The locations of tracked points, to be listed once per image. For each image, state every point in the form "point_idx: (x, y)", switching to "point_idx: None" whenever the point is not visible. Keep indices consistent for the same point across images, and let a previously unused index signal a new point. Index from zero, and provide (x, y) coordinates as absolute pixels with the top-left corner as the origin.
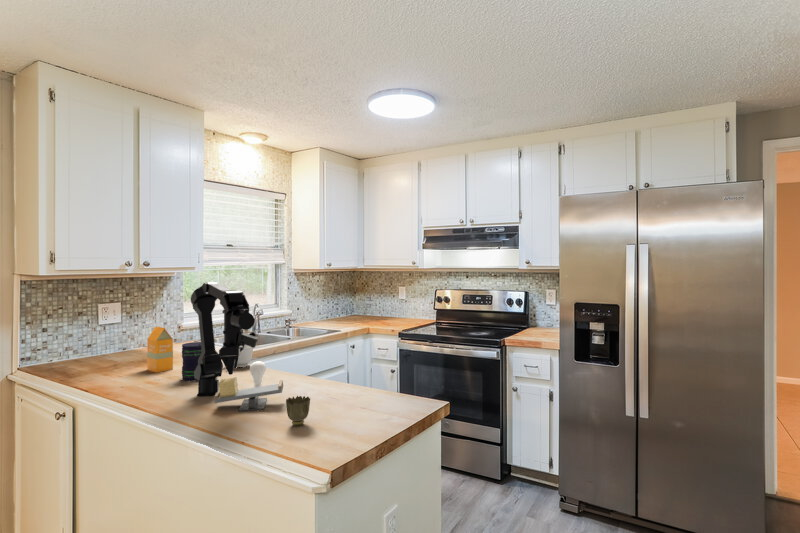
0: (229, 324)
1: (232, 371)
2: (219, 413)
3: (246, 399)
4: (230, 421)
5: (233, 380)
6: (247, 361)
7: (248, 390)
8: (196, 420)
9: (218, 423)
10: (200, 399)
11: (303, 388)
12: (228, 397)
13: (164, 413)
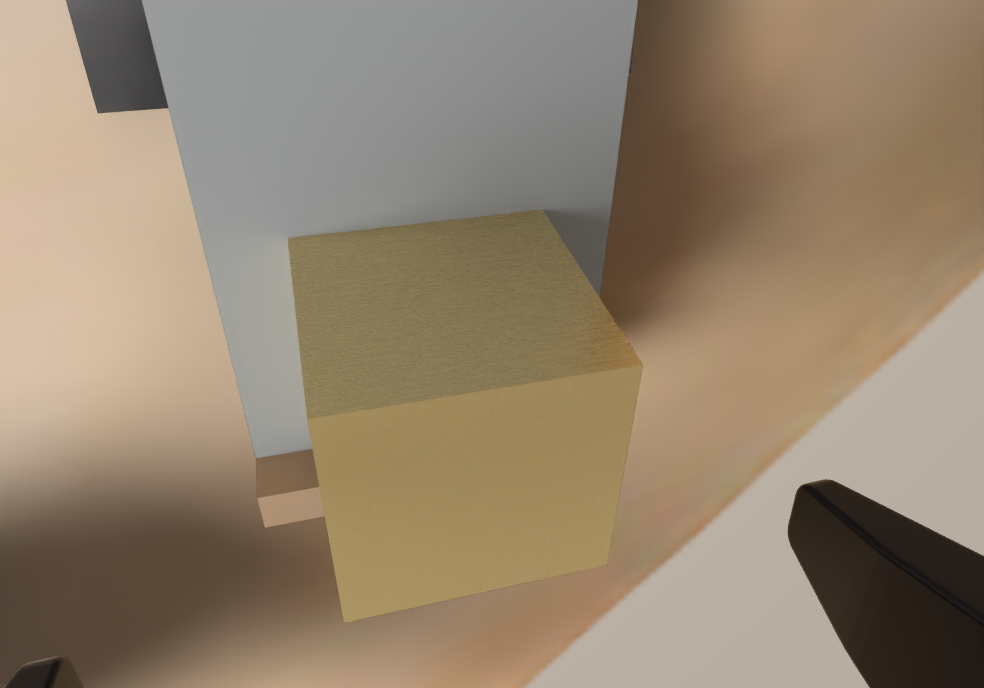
0: None
1: (910, 522)
2: (621, 278)
3: (115, 66)
4: (918, 83)
5: (593, 387)
6: None
7: (335, 27)
8: (758, 406)
9: (919, 192)
10: (81, 632)
11: None
12: (599, 287)
13: (509, 680)
